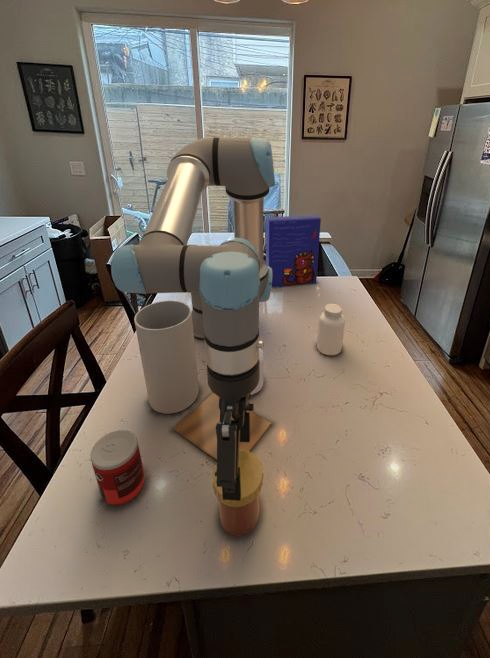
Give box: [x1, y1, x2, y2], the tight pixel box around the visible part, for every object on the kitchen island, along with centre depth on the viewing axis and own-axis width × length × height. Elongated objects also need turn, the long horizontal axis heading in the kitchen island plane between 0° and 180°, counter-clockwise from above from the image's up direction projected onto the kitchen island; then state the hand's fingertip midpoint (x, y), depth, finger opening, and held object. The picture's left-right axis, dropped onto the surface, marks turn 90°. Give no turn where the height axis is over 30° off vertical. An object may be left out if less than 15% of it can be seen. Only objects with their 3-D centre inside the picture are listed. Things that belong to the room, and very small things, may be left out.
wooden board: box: [173, 392, 272, 462], centre depth 77 cm, size 18×14×1 cm
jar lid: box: [212, 450, 264, 507], centre depth 57 cm, size 9×9×2 cm
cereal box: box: [265, 214, 322, 288], centre depth 141 cm, size 22×6×30 cm, turn 104°
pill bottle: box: [316, 303, 346, 356], centre depth 102 cm, size 8×8×15 cm
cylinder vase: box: [133, 299, 200, 415], centre depth 81 cm, size 12×12×25 cm
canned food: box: [90, 429, 146, 506], centre depth 63 cm, size 8×8×11 cm
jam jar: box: [218, 493, 260, 537], centre depth 59 cm, size 7×7×11 cm
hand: (237, 466), depth 55 cm, fingers open, 9 cm apart
